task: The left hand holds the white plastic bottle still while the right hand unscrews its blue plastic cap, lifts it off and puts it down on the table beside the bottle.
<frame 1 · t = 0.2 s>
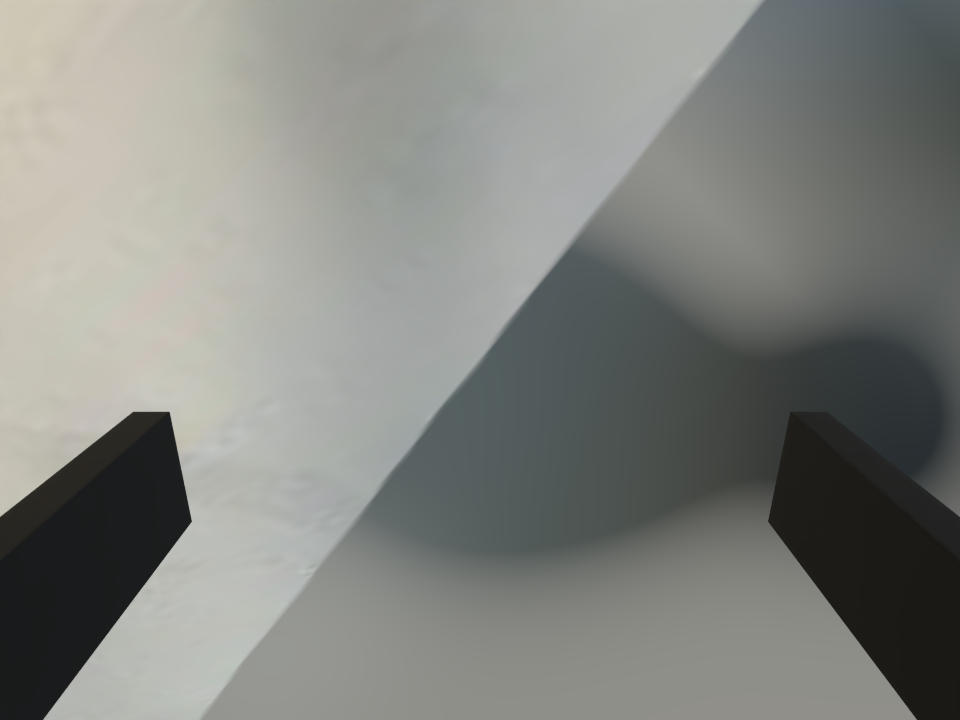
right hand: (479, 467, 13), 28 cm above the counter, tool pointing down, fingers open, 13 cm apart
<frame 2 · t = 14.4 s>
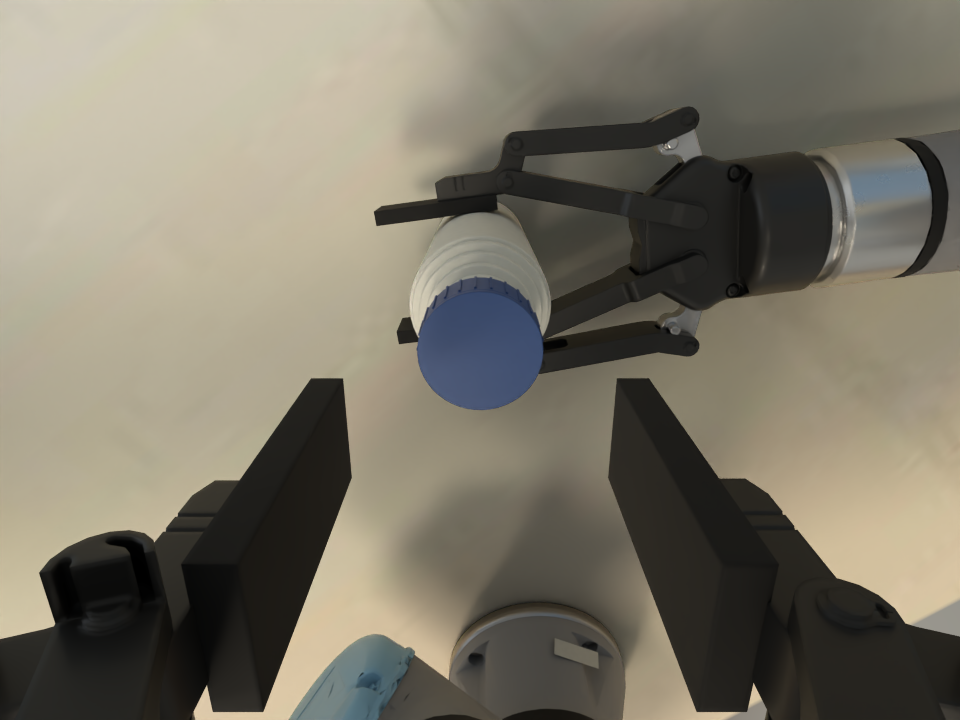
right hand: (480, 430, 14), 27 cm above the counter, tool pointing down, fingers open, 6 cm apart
left hand: (391, 275, 34), fingers closed on bottle, 6 cm apart
cap: (480, 350, 20), point 21 cm above the counter, screwed on, not yet turned
bottle: (480, 244, 40), on the counter, touching left hand
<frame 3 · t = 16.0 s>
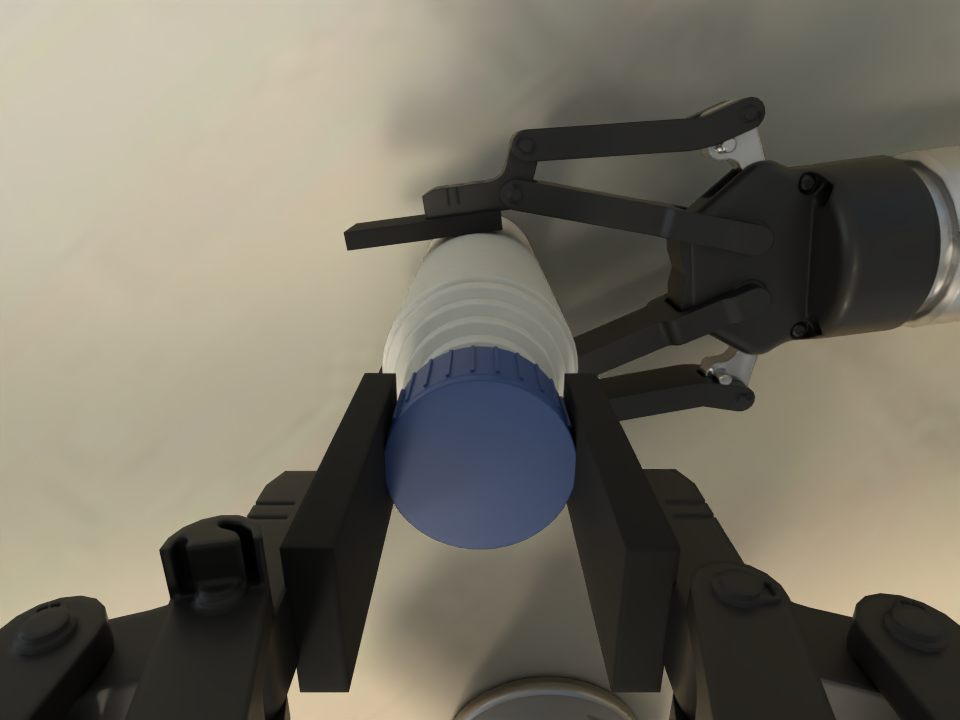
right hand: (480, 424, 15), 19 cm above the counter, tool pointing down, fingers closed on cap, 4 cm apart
left hand: (368, 310, 27), fingers closed on bottle, 6 cm apart
cap: (480, 462, 13), point 21 cm above the counter, screwed on, not yet turned, touching right hand
bottle: (479, 266, 33), on the counter, touching left hand
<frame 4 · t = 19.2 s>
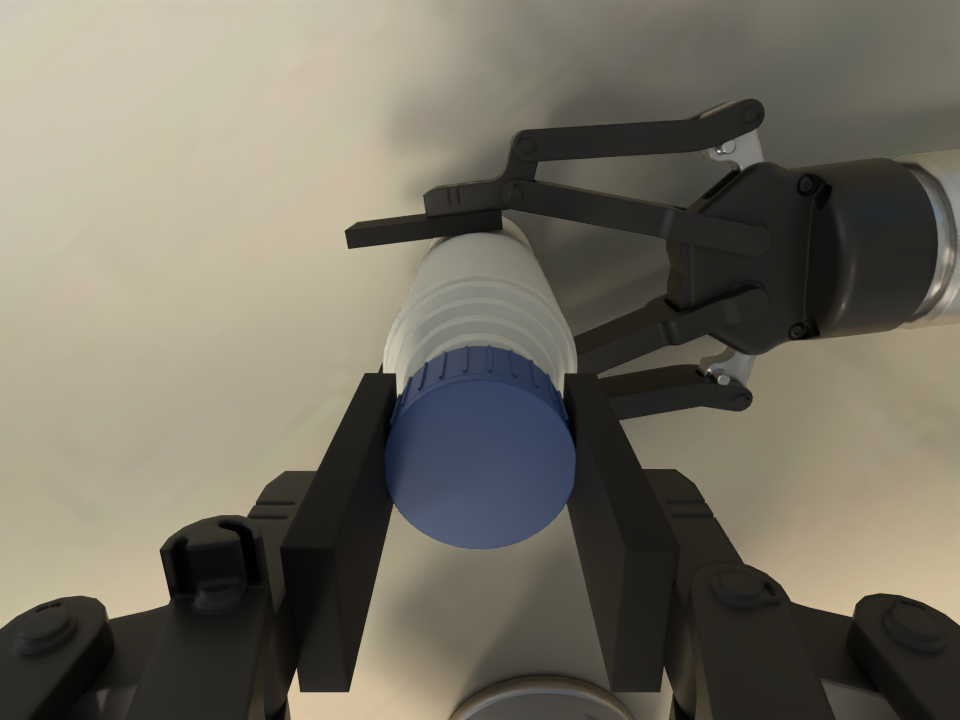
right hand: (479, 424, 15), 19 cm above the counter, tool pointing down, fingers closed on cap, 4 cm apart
left hand: (368, 308, 27), fingers closed on bottle, 6 cm apart
cap: (480, 462, 13), point 21 cm above the counter, turned 105° so far, risen 0.1 cm, still on its thread, touching right hand
bottle: (479, 265, 33), on the counter, touching left hand
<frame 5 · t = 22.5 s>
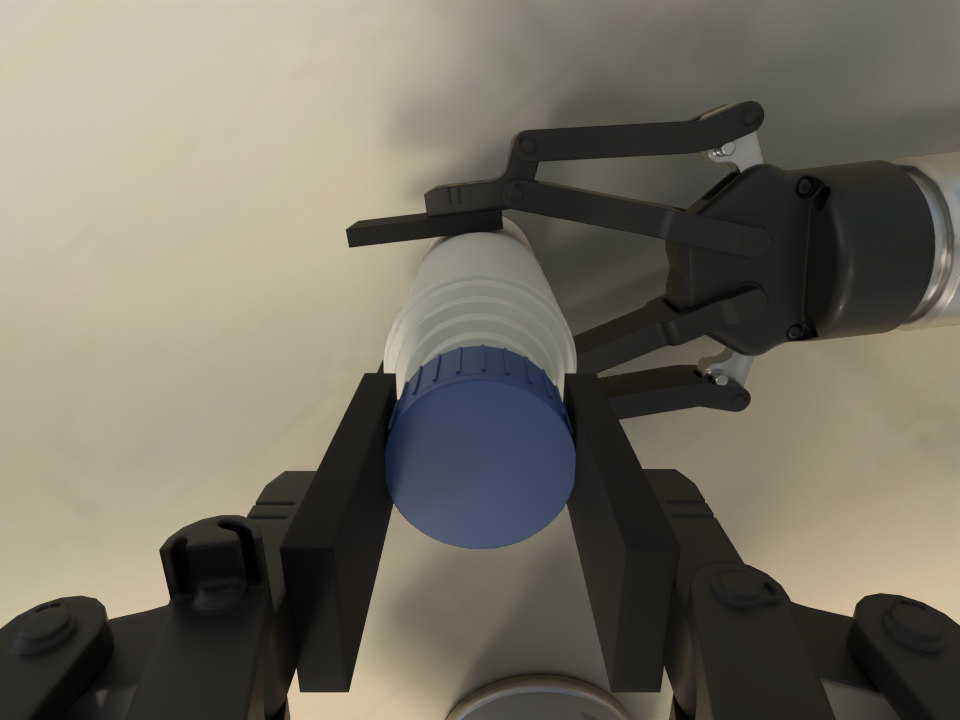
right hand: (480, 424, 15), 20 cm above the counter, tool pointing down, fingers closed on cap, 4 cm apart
left hand: (368, 307, 27), fingers closed on bottle, 6 cm apart
cap: (480, 462, 13), point 21 cm above the counter, turned 211° so far, risen 0.3 cm, still on its thread, touching right hand
bottle: (480, 265, 33), on the counter, touching left hand
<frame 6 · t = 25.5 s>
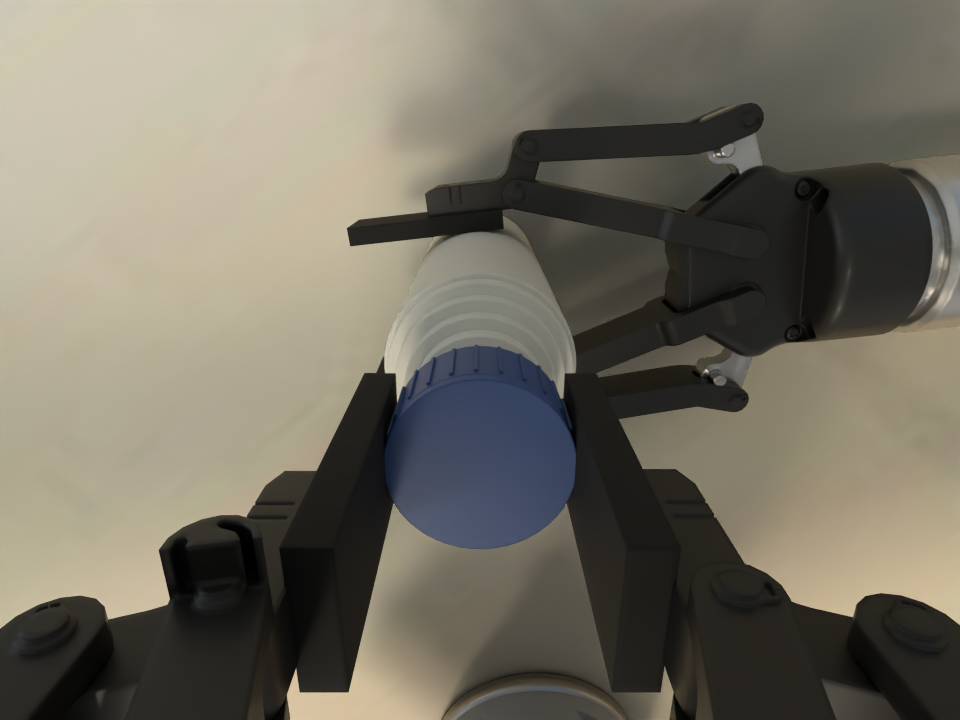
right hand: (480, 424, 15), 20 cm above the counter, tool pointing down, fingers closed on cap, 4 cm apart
left hand: (369, 305, 27), fingers closed on bottle, 6 cm apart
cap: (480, 462, 13), point 22 cm above the counter, turned 316° so far, risen 0.4 cm, still on its thread, touching right hand
bottle: (480, 264, 33), on the counter, touching left hand
when the right hand's fingers open (1 cm above the counter, at t = 32.5 s): cap drops 1 cm, point 2 cm above the counter.
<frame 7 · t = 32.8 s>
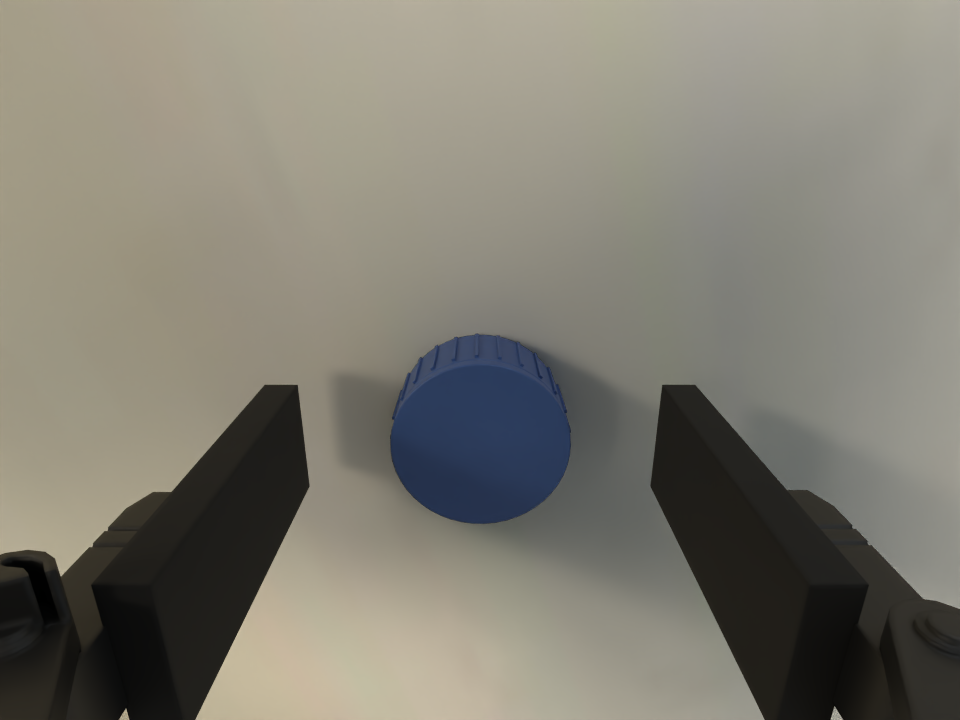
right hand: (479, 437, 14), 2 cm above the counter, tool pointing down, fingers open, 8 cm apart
cap: (480, 442, 14), point 2 cm above the counter, off its thread
when the left hand's fingers open (7 cm above the counter, at t = 33.7 s): bottle stays where it is, on the counter.
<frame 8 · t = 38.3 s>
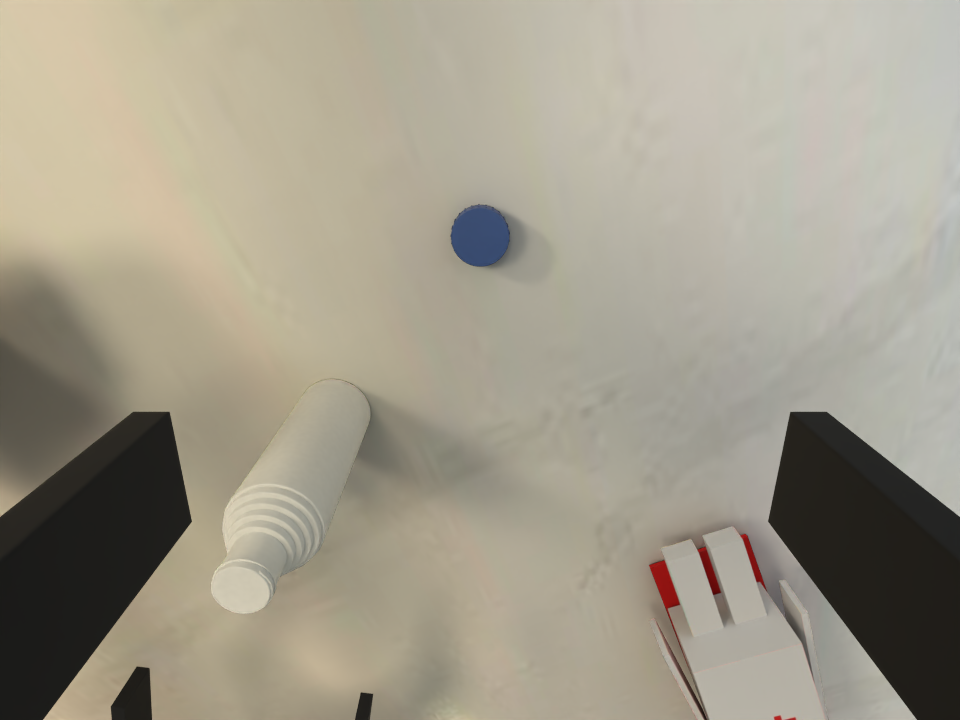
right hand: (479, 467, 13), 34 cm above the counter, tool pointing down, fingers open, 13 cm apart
cap: (480, 237, 43), point 2 cm above the counter, off its thread
toy: (721, 635, 58), on the counter
bottle: (335, 411, 50), on the counter
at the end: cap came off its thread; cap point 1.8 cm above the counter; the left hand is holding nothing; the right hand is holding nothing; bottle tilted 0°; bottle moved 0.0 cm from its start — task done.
